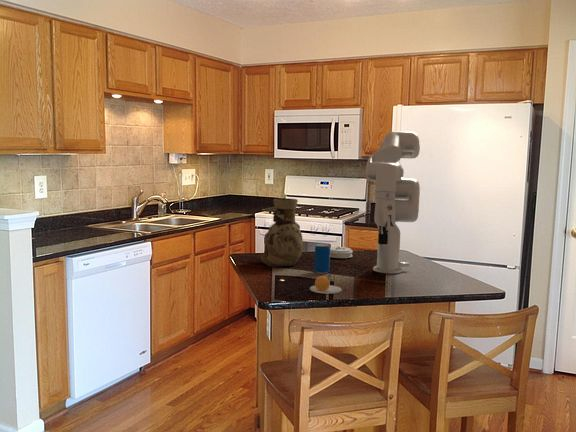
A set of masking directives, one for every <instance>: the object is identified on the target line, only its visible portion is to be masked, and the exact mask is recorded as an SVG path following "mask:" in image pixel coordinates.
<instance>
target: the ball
mask: <svg viewBox="0 0 576 432" xmlns="http://www.w3.org/2000/svg"><path fill="white" fill-rule="evenodd" d="M330 283H331V282H330V280H329V278H328V277H327V276H325V275H321V276H318V277H316V279H315V281H314V286H316V288H317V289H318V290H320V291H325V290H327V289H328V288H329V285H331V284H330Z"/></svg>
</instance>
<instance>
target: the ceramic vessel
mask: <svg viewBox="0 0 576 432" xmlns="http://www.w3.org/2000/svg"><path fill="white" fill-rule="evenodd" d="M298 202H299V201H298V199H296V198H275V199H273V205H274V208H275V211H273V212H272V215H273V216H272V218H273V220H272V221H273V222H274V223H273V224H272V225H271V226H270V227H269V228H268V230H267V232H266V233H265V235H264V236H263V238H264V239H263V243H264V245H265V247H264V251H263V253H262V254H261V257H260V261H261V263H262V264H264V265H267V267H269V268H283V267H292V266H295V265H296V264H297V263H298V261H299V259H300V258H301V255H302V253H303V241H304V240H303V239H304V238H303V234H302V231H301V227H300V224H299V223H298V222H297V221H296V209H297V206H298Z"/></svg>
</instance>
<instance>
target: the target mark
mask: <svg viewBox="0 0 576 432" xmlns="http://www.w3.org/2000/svg"><path fill="white" fill-rule="evenodd" d="M309 290H310V291H311V292H314V293H317V294H324V295H326V294H327V295H329V294H330V295H333V294H338V293H341V292H342V291H343V289H342V288H341V287H340V286H336V285H332V284H330V285H329V288H328V289H327V290H325V291H320V290H318V289H317V288H316V286H315V285H312V286H310V287H309Z"/></svg>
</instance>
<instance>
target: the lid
mask: <svg viewBox="0 0 576 432" xmlns="http://www.w3.org/2000/svg"><path fill="white" fill-rule="evenodd" d="M329 247H330V246H329ZM353 252H354V250H352V248H350V247H345V246H331V247H330V258H335V259H348V258H353Z"/></svg>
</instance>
